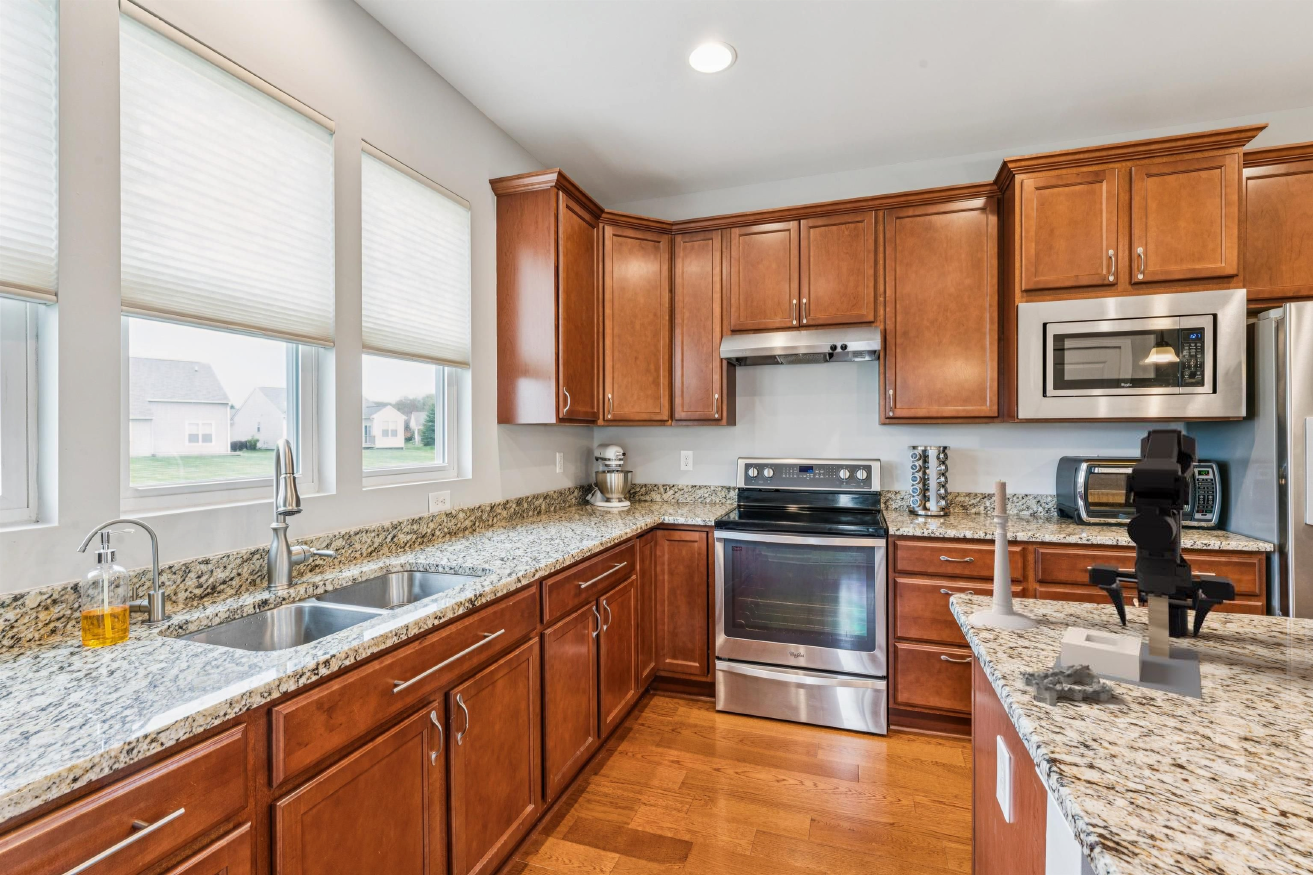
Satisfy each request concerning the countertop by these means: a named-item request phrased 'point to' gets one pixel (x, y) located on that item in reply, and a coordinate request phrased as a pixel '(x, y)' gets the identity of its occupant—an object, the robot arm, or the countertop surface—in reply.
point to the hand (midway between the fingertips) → (1158, 631)
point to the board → (1163, 672)
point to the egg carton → (1068, 676)
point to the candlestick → (1001, 577)
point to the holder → (1103, 652)
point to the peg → (1158, 624)
